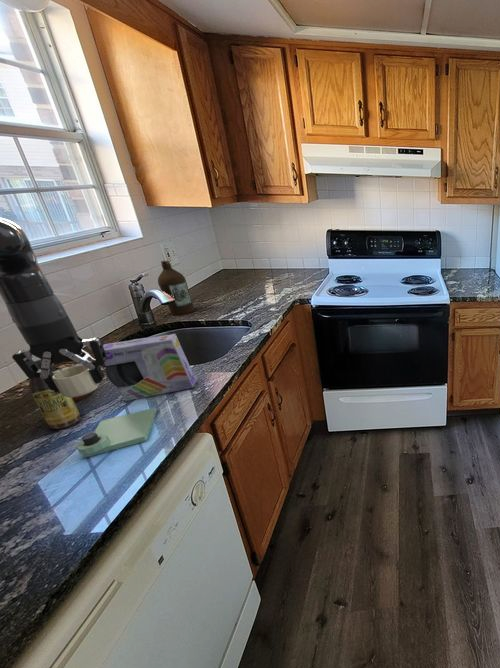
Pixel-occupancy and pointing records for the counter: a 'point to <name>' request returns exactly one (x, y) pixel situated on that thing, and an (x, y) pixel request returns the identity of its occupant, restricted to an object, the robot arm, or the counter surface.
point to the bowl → (74, 381)
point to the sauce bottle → (53, 403)
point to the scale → (120, 432)
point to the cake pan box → (148, 366)
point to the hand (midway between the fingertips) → (79, 385)
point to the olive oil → (175, 289)
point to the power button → (90, 439)
